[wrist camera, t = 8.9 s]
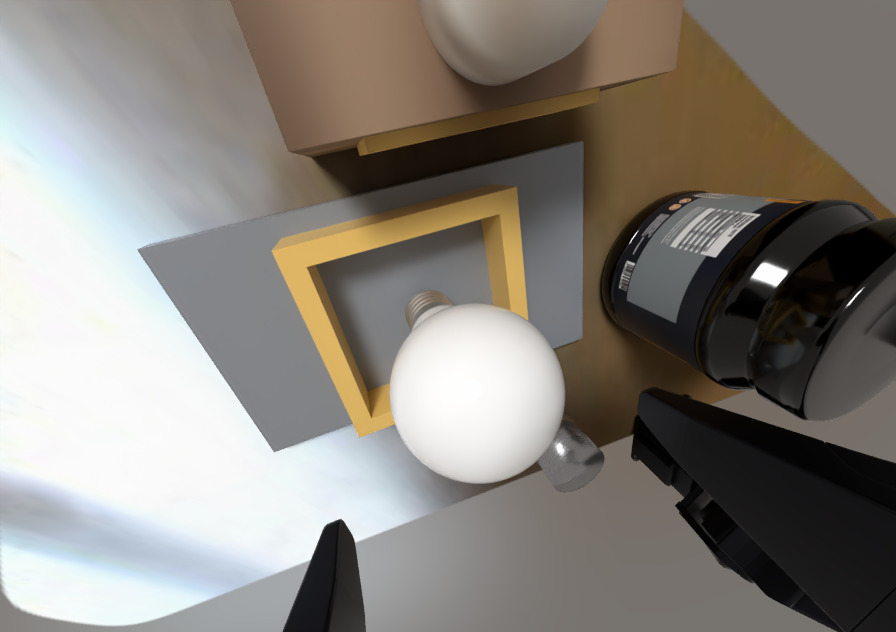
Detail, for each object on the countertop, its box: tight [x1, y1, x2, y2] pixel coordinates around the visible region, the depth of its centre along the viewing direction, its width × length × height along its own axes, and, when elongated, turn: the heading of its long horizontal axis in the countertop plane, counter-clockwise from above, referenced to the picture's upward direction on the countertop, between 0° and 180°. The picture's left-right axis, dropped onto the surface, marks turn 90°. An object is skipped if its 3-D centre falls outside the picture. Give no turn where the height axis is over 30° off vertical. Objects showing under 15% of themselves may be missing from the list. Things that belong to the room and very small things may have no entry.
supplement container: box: [602, 190, 896, 422], centre depth 19 cm, size 10×10×12 cm
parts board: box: [138, 141, 584, 452], centre depth 18 cm, size 22×13×4 cm, turn 102°
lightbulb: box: [389, 290, 565, 484], centre depth 14 cm, size 6×6×11 cm
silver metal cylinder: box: [537, 411, 604, 492], centre depth 24 cm, size 4×4×6 cm
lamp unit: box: [230, 0, 684, 157], centre depth 11 cm, size 12×5×10 cm, turn 102°
